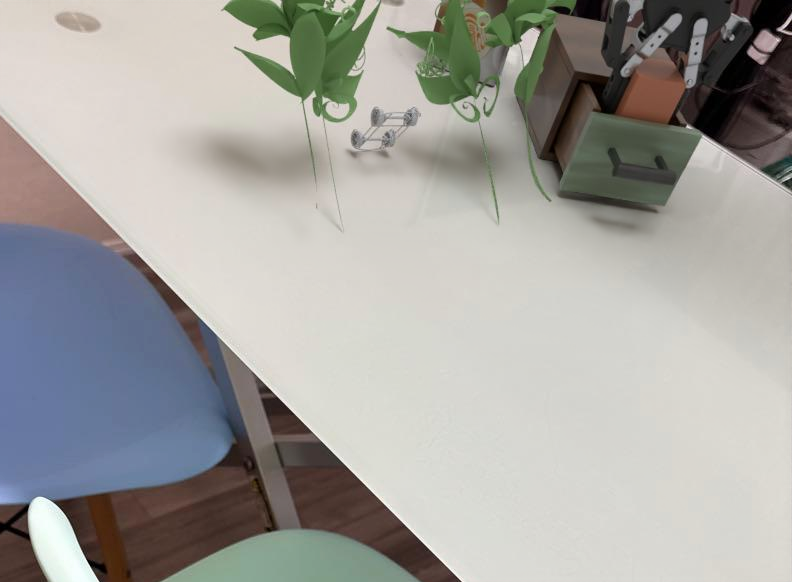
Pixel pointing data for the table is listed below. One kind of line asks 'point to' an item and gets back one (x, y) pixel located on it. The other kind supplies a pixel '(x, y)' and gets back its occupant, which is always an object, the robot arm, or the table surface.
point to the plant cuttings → (341, 46)
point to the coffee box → (479, 35)
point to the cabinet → (568, 75)
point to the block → (652, 92)
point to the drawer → (620, 150)
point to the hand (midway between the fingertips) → (635, 113)
